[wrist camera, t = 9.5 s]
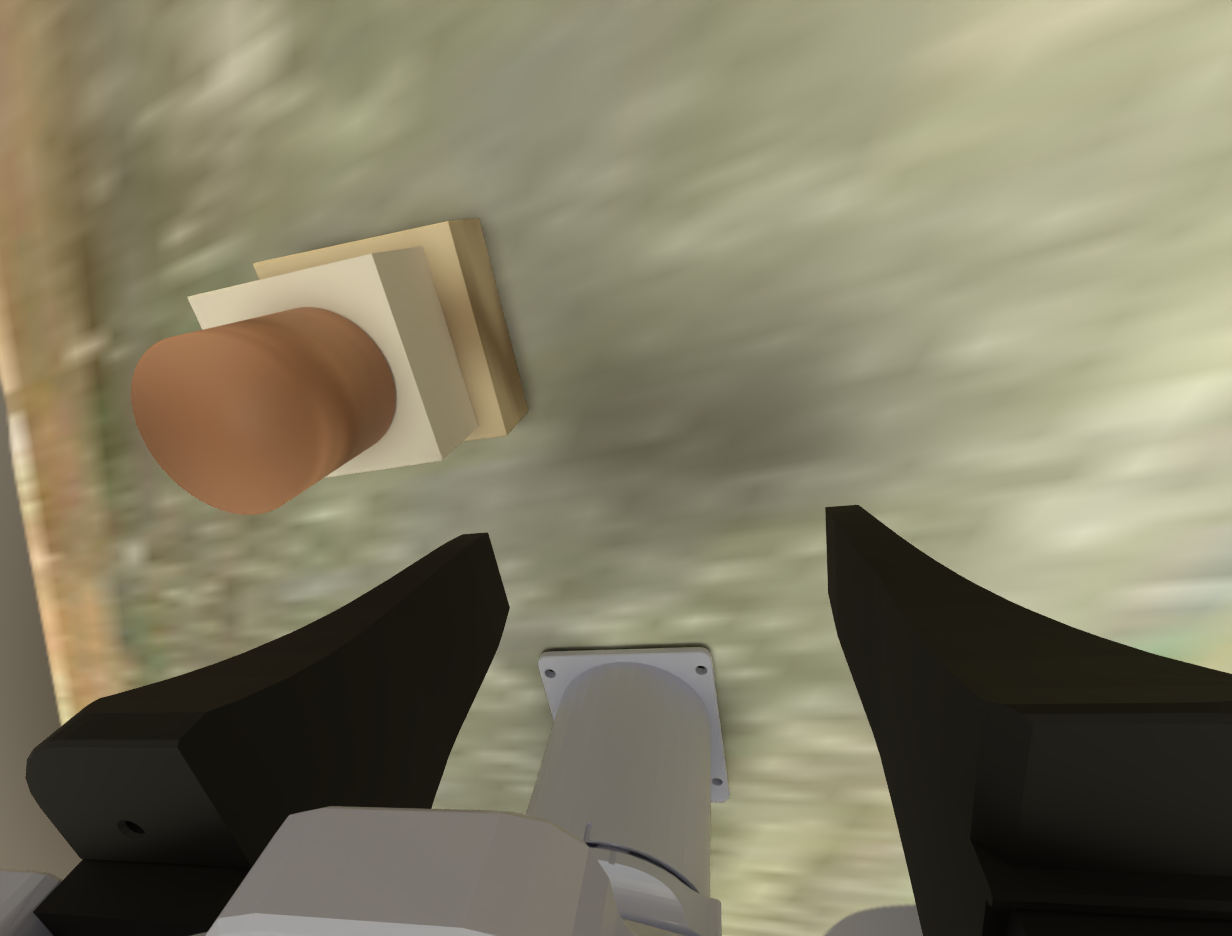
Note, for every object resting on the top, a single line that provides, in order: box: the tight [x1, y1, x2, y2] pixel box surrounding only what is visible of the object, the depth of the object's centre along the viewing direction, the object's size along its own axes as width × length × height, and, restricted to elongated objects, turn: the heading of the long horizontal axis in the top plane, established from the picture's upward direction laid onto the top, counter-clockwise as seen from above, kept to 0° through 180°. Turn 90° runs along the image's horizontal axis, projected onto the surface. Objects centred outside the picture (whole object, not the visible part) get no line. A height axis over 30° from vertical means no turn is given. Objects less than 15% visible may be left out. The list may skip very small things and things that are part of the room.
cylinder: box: [131, 307, 395, 515], centre depth 16 cm, size 4×4×4 cm
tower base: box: [253, 218, 528, 441], centre depth 21 cm, size 7×7×3 cm
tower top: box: [187, 246, 478, 478], centre depth 19 cm, size 6×6×3 cm
